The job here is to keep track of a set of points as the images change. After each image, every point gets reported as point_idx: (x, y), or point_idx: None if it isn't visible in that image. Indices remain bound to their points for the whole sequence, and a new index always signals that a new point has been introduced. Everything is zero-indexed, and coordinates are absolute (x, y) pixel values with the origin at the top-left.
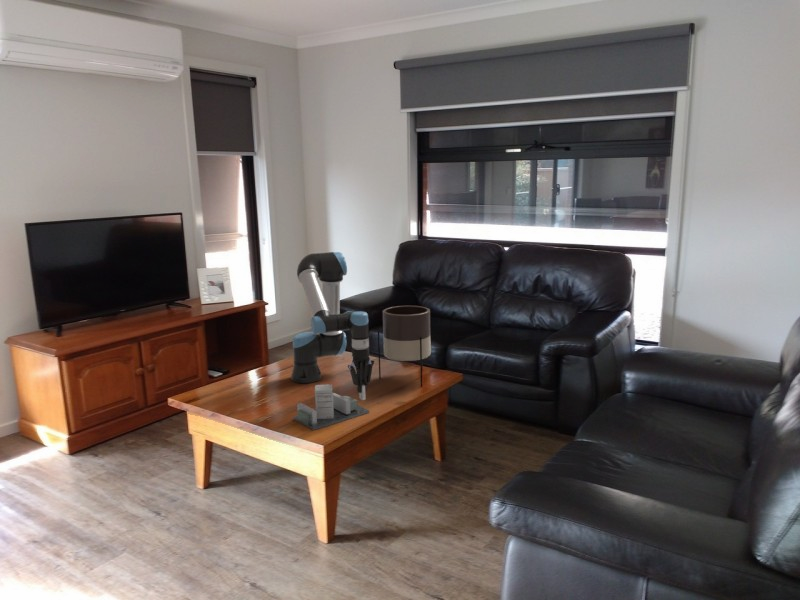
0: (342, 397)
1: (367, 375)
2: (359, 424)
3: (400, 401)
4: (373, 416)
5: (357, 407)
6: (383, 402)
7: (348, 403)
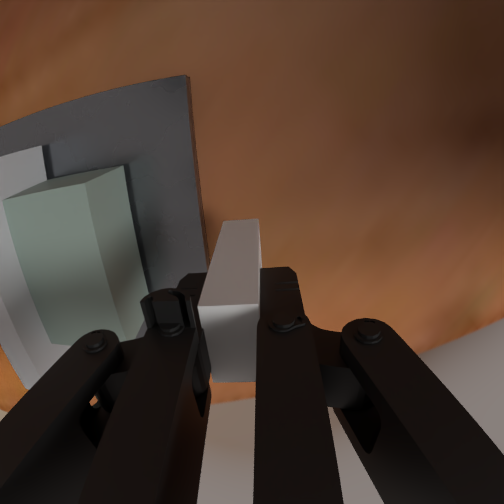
0: (5, 325)
1: (383, 460)
2: None
3: (474, 302)
4: (212, 388)
5: (173, 265)
6: (411, 254)
7: None
